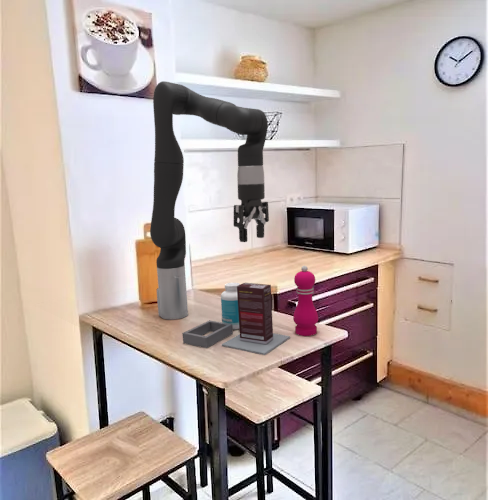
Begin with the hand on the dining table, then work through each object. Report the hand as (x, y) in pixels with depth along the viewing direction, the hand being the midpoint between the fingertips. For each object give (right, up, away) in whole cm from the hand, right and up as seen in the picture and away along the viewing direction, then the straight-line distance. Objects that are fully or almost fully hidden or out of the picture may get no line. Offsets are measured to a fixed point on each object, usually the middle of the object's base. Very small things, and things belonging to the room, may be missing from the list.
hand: (252, 239), depth 133 cm
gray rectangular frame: (-13, -29, +2) cm, 31 cm away
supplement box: (+1, -28, -2) cm, 29 cm away
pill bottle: (-5, -27, +12) cm, 30 cm away
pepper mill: (+16, -27, +3) cm, 32 cm away
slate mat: (+1, -29, -2) cm, 29 cm away
